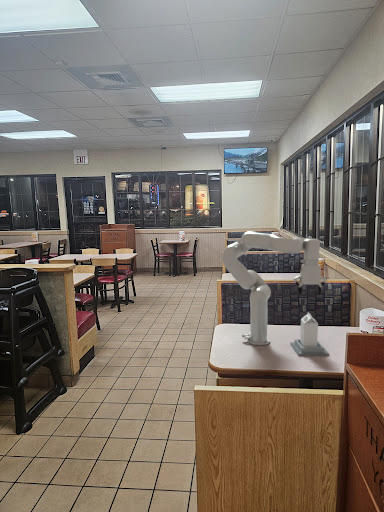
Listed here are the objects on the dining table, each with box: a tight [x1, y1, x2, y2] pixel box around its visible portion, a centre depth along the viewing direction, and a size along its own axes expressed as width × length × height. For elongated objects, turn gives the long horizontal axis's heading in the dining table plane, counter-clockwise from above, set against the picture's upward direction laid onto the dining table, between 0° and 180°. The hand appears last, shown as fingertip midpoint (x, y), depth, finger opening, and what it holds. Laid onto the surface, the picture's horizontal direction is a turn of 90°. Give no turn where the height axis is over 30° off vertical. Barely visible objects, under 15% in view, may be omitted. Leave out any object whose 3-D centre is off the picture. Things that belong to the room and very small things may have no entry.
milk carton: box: [299, 311, 319, 347], centre depth 191 cm, size 7×7×19 cm
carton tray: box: [289, 338, 330, 357], centre depth 192 cm, size 16×15×4 cm
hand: (309, 293), depth 189 cm, fingers open, 9 cm apart
